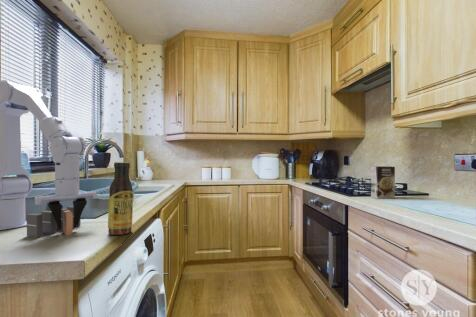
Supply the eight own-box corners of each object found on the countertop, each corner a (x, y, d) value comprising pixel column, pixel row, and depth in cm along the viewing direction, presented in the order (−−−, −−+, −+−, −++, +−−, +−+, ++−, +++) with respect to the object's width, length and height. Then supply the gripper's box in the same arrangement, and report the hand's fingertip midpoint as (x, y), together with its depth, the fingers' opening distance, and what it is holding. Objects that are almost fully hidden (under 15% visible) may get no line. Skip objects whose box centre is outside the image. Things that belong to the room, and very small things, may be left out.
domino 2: (51, 234, 72) (50, 212, 72) (41, 232, 74) (41, 211, 74) (56, 232, 74) (56, 211, 74) (46, 231, 75) (46, 210, 75)
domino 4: (66, 234, 71) (66, 213, 71) (63, 232, 74) (62, 211, 74) (72, 233, 72) (72, 212, 72) (68, 231, 75) (68, 210, 75)
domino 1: (36, 237, 69) (36, 215, 69) (26, 236, 70) (26, 214, 70) (42, 236, 70) (42, 214, 70) (32, 235, 72) (32, 213, 72)
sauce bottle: (113, 237, 68) (112, 162, 68) (104, 233, 73) (103, 162, 73) (137, 232, 73) (136, 162, 73) (127, 228, 77) (127, 162, 77)
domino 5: (76, 227, 80) (76, 207, 80) (66, 226, 81) (66, 206, 81) (80, 225, 81) (80, 206, 81) (71, 224, 82) (71, 206, 82)
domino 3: (64, 230, 76) (64, 209, 76) (54, 229, 77) (54, 209, 77) (68, 229, 77) (68, 209, 77) (59, 227, 79) (59, 208, 79)
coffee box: (377, 198, 129) (377, 166, 129) (370, 197, 136) (370, 166, 136) (395, 198, 129) (395, 166, 129) (388, 196, 136) (387, 166, 136)
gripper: (37, 181, 65) (38, 235, 65) (100, 177, 76) (100, 224, 76) (33, 179, 70) (33, 229, 70) (92, 176, 81) (92, 220, 81)
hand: (67, 226), depth 73 cm, fingers open, 3 cm apart
